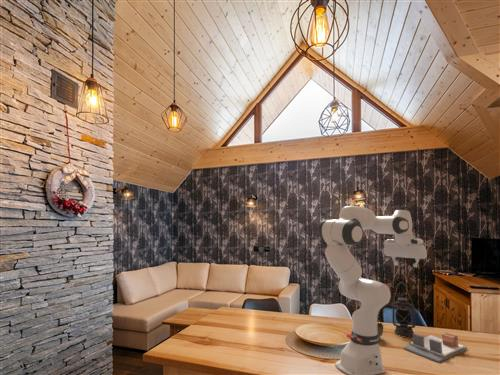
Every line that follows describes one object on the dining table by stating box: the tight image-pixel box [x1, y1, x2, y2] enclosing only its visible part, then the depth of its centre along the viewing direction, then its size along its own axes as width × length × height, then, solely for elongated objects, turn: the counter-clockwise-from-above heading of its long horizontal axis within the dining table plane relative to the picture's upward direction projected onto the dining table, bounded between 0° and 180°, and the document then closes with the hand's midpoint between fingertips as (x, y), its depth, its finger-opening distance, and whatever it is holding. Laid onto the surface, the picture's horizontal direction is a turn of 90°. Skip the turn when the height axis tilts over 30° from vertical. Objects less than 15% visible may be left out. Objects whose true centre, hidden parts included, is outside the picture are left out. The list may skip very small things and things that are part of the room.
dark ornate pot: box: [377, 321, 384, 340], centre depth 165 cm, size 8×7×8 cm
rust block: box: [441, 332, 459, 348], centre depth 151 cm, size 5×5×5 cm
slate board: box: [403, 344, 468, 364], centre depth 150 cm, size 28×17×1 cm, turn 121°
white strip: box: [427, 339, 465, 357], centre depth 148 cm, size 20×8×6 cm, turn 121°
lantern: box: [391, 281, 416, 338], centre depth 173 cm, size 12×11×30 cm
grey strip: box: [410, 332, 443, 350], centre depth 156 cm, size 20×8×6 cm, turn 121°
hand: (405, 266), depth 154 cm, fingers open, 8 cm apart
